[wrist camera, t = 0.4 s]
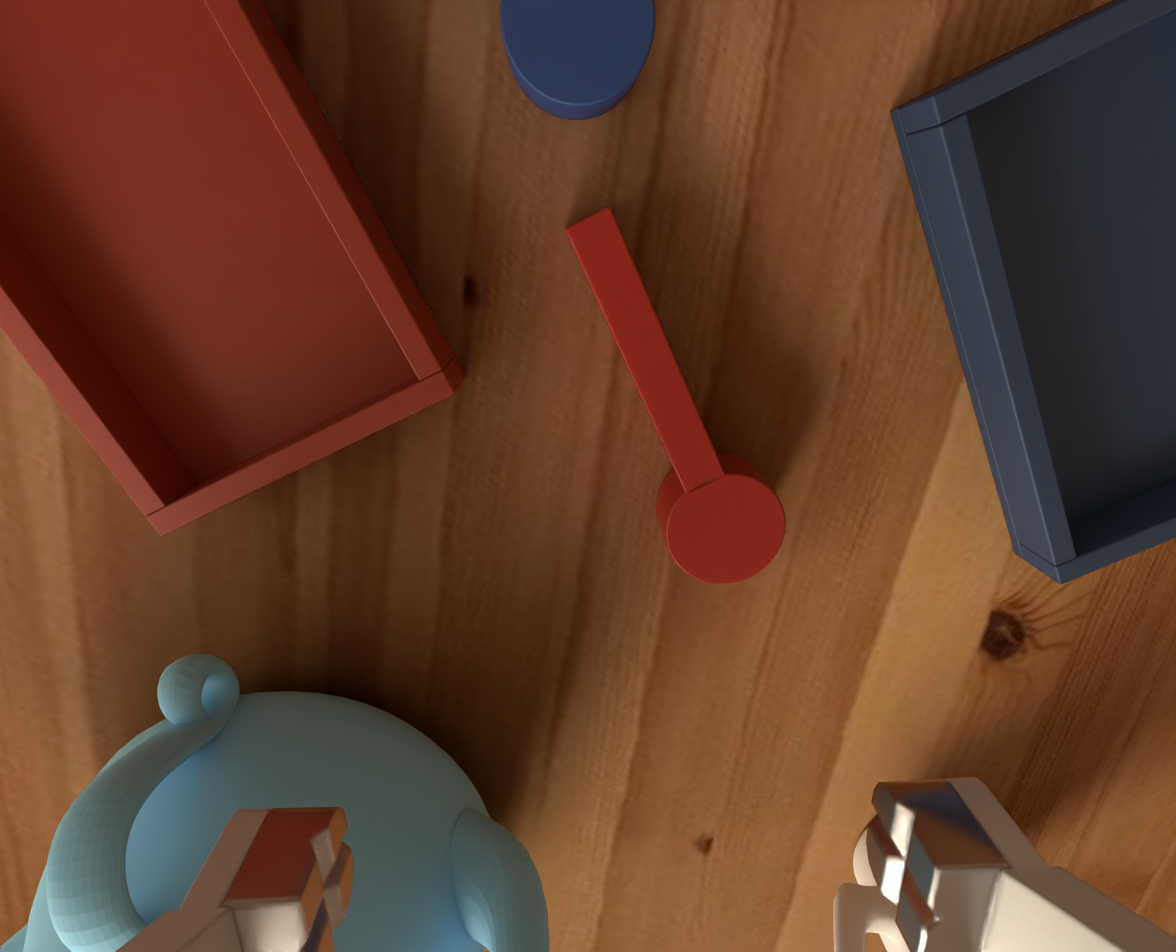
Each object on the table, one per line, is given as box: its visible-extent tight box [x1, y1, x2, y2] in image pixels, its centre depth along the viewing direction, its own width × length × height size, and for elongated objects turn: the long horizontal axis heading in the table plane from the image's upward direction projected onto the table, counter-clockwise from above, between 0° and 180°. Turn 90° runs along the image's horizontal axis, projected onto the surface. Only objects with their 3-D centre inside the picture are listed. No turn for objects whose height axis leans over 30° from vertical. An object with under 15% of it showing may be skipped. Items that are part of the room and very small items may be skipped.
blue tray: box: [890, 0, 1176, 584], centre depth 22 cm, size 17×11×2 cm, turn 25°
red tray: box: [0, 0, 465, 536], centre depth 20 cm, size 17×11×2 cm, turn 25°
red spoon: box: [565, 207, 786, 584], centre depth 22 cm, size 13×4×2 cm, turn 25°
